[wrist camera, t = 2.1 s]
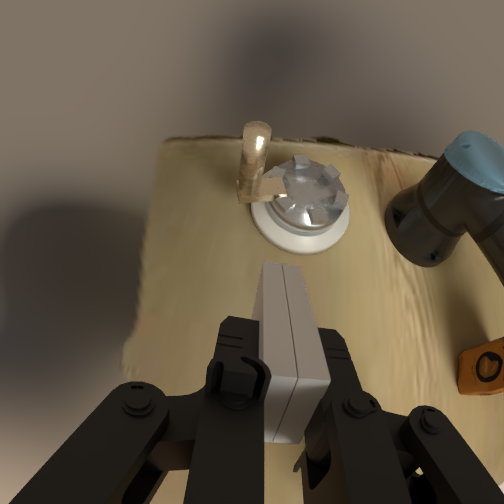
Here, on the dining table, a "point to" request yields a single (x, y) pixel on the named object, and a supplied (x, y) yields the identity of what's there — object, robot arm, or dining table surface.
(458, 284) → the dining table surface
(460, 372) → the coffee package
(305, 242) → the nut base plate
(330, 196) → the grey and clear pieces
